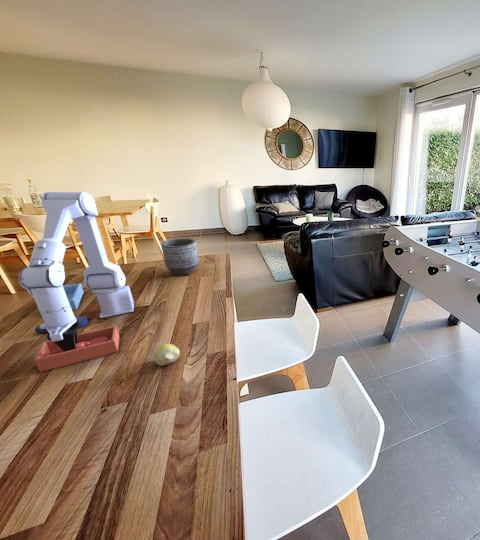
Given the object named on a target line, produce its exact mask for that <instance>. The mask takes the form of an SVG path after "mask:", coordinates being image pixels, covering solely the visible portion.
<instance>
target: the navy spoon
mask: <svg viewBox="0 0 480 540" xmlns="http://www.w3.org/2000/svg"><path fill="white" fill-rule="evenodd" d="M75 317H76V319H77V320H79V323H78V327H77V329H79V328H82V327H84V326H87V325H88V324H89V321H88V317H87V316H85V315H80V316H75ZM40 325H41V324H39V325H36V326H35V328H34V332H35V333H37V334H44V333H49V332H48V331H47V329H40Z"/></svg>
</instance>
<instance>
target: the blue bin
mask: <svg viewBox="0 0 480 540" xmlns="http://www.w3.org/2000/svg"><path fill="white" fill-rule="evenodd" d="M82 286H83V285H82V284H81V283H74V284H68V285H67V284H66V285H63V288H64V291H65V293H66V296H67V298H68V301H69V304H70V306H71V309H72V311H76V310H78V308H79V305H80V304H81V300H82V297H83V295H84V289H83V287H82ZM36 308H37V310H38V312H39V314H40V316H41V317H42V315H41V313H40V311H39V309H38V306H37V305H36Z"/></svg>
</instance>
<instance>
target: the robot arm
mask: <svg viewBox="0 0 480 540" xmlns="http://www.w3.org/2000/svg"><path fill="white" fill-rule="evenodd" d="M40 204H41V207H42V208H43V210H44V212H45V213H46V215H45V223H44V229H43V236H42V238H41V239H39V240H36V241H35V243H34V246H33V249H32V253H31V256H30V260H29V263H28V266H26V267H25V268H23V269H22V270H21V271H19V275H18V280H19V281H18V284H19V286H21V287H22V288H23V289H24V290H26V291H27V294H28V295H30V296H32V297H33V299H34V301H35V304H36V307H37V306H38V307H37V310H38V309H39V310H38V312H39V311H40V312H39V314H40V313H41V314H40V316H41V315H42V316H41V319H42V320H43V322H44V323H41V324H39V325H40V329H47V331H48V332H47V334H46V339H47V341H49V340H50V341H52V342H54V343H55V344H57V345H58V346H59V347H60V348H61V349H62V350H63V351H64V352H66V351H70V350H74V349H76V344H77V343H78V337H77V334H78V328H77V327H78V323H79V320H77V319H76V317H77V316H75V314H74V310H72V309H71V306H70V304H69V301H68V298H67V296H66V293H65V291H64V288H63V286H64V282H65V280H66V273H65V265H64V264H63V261H64V257H65V254H66V250H67V246H66V245H65V244H64V243H63V239H64V237H65V234H66V232H67V229H68V227H69V224H70V223H71V220H72V221H73V222H74V224H75V228H76V230H77V233H78V236H79V239H80V242H81V246H82V248H83V251H84V254H85V257H86V260H87V263H88V265H89V266H88V267H86V268H85V269H84V270H83V271H82V274H83V284H84V287H85V288H86V289H88V290H89V291H91V292H92V293H93V294H95V296H96V299H97V302H98V305H99V308H100V313H99V319H103V318H109V317H113V316H118V315H124V314H128V313H129V314H130V313H133V312H134V310H135V301H134V298H133V295H132V291H131V288H130V286H129V285H126V282H127V281H126V279H127V278H126V275H125V273H124V272H123V270H122V268H121V266H120V265H118V264H115V263H113V262H110V261H109V258H108V255H107V252H106V248H105V245H104V242H103V239H102V236H101V232H100V230H99V226H98V223H97V220H96V217H98V216H99V213H98V207H97V205H96V201H95V199H94V197H93V196H92V195H91V194H90V193H88V192H86V191H81V192H80V191H48V190H47V191H45V192H43V194H42V196H41V203H40Z"/></svg>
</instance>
